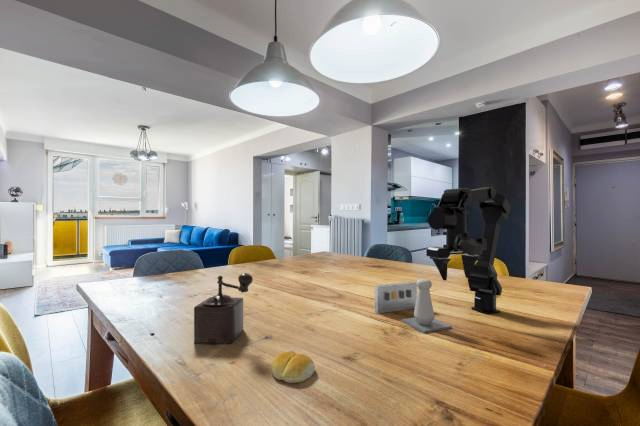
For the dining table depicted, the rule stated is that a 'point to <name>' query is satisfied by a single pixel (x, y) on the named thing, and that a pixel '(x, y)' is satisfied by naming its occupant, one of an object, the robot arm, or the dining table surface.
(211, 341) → the manual coffee grinder
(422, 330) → the slate pad
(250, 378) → the dining table surface
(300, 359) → the bread roll
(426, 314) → the salt shaker
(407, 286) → the breaker panel
